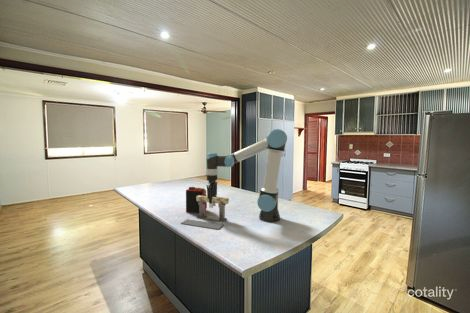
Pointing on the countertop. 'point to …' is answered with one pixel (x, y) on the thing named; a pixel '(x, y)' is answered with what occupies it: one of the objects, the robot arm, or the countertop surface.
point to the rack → (220, 218)
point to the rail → (215, 199)
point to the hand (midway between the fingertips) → (212, 206)
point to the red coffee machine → (194, 199)
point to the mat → (202, 224)
